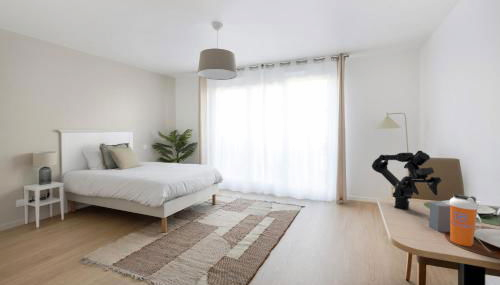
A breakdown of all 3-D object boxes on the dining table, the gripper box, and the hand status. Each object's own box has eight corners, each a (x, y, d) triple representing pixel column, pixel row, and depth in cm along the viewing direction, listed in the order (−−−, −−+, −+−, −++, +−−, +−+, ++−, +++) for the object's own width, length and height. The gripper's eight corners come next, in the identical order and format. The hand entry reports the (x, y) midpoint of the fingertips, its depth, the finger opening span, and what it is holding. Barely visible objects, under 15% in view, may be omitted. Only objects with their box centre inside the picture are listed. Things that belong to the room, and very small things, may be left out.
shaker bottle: (448, 235, 104) (451, 191, 103) (476, 242, 98) (479, 196, 97) (446, 242, 98) (448, 195, 97) (475, 250, 92) (478, 200, 91)
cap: (429, 226, 114) (430, 201, 114) (441, 226, 114) (442, 202, 113) (437, 231, 109) (438, 205, 108) (450, 231, 108) (451, 205, 108)
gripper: (404, 161, 127) (416, 186, 117) (440, 162, 126) (455, 187, 115) (395, 173, 135) (406, 197, 125) (429, 174, 134) (442, 198, 124)
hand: (427, 194), depth 122 cm, fingers open, 9 cm apart
